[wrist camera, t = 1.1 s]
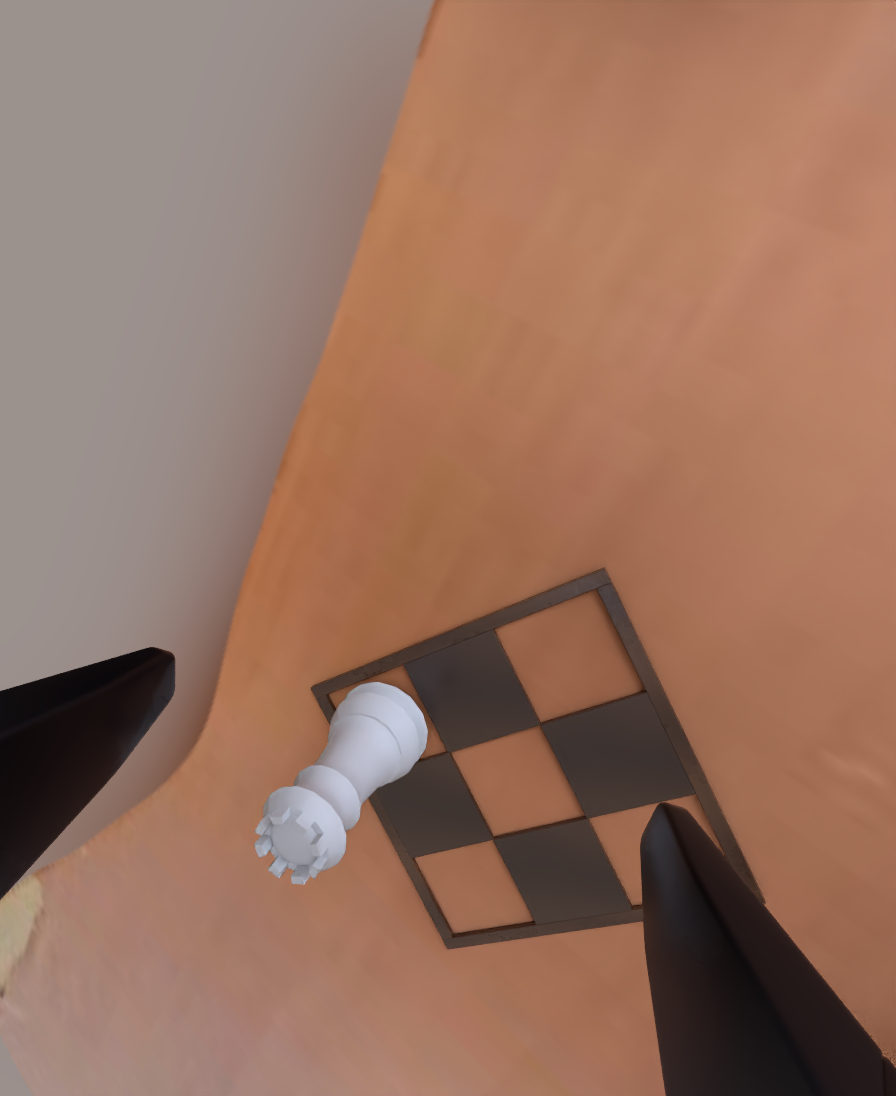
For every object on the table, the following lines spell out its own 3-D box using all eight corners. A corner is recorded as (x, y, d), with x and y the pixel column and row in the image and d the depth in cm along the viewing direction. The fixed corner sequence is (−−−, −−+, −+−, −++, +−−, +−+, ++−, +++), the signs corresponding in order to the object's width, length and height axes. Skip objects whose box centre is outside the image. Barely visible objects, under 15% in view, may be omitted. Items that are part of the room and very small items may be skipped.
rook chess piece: (327, 715, 25) (207, 835, 17) (380, 658, 23) (273, 763, 16) (392, 780, 24) (299, 932, 17) (450, 727, 23) (375, 867, 15)
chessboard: (764, 899, 20) (766, 903, 20) (448, 945, 25) (447, 949, 25) (604, 567, 19) (604, 568, 19) (312, 686, 25) (310, 687, 24)
